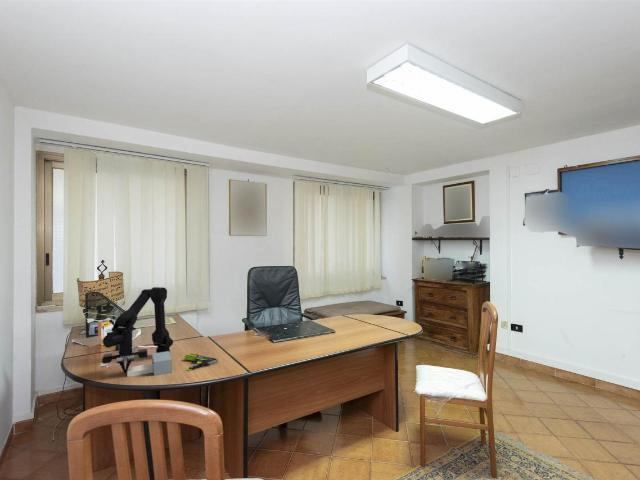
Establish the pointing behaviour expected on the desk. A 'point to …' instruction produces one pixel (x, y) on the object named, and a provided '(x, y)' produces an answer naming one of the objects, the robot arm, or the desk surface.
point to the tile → (140, 370)
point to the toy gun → (200, 361)
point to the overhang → (162, 363)
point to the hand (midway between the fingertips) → (125, 373)
